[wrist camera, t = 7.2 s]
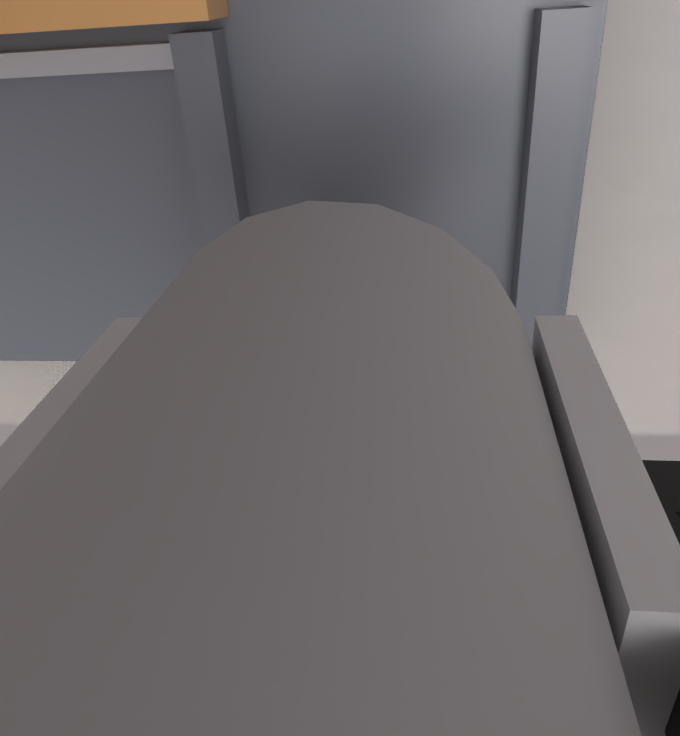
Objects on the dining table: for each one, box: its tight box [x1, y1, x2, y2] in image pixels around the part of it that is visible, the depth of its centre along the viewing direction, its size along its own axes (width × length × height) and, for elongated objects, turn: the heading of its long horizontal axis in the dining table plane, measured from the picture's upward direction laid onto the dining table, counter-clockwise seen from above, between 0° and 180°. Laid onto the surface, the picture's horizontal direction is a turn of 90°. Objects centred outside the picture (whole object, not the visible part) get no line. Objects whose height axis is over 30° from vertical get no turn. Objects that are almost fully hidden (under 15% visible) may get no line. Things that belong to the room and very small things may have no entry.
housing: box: [0, 0, 608, 361], centre depth 25 cm, size 30×17×2 cm, turn 94°
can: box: [0, 201, 641, 736], centre depth 8 cm, size 8×8×12 cm
